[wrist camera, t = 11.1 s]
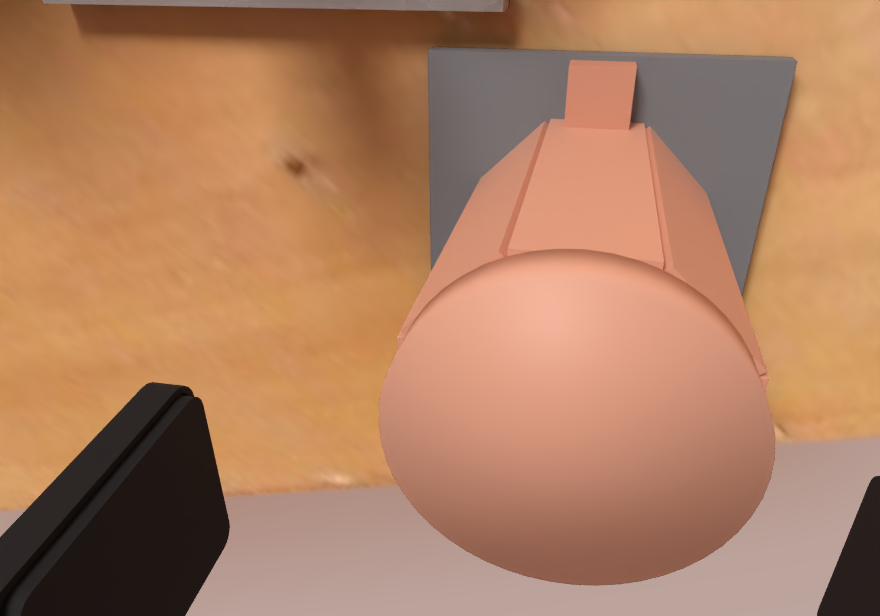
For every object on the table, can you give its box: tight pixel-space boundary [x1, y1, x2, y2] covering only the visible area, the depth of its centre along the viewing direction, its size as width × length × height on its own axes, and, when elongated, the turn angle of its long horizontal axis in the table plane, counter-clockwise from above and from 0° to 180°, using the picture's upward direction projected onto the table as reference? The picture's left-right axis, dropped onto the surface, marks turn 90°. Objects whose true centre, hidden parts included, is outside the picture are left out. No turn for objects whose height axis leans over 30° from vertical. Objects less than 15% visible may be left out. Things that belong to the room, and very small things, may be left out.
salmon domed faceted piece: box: [379, 60, 775, 585], centre depth 15 cm, size 9×6×10 cm
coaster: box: [428, 47, 797, 296], centre depth 20 cm, size 9×9×1 cm
